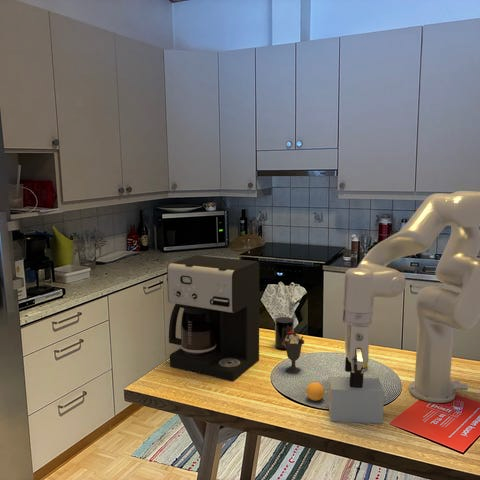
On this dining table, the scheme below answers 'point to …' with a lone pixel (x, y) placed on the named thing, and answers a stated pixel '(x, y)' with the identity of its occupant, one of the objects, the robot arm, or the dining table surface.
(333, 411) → the grey rectangular block
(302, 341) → the sundae
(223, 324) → the coffee maker
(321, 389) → the ball
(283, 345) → the supplement container
